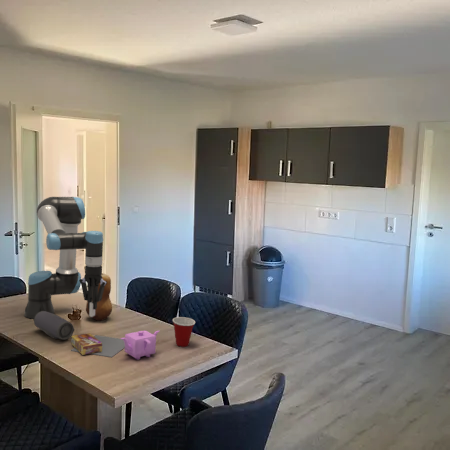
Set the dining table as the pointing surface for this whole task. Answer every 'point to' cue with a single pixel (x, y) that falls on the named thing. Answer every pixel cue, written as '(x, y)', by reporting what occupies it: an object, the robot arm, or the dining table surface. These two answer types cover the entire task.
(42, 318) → the bluetooth speaker
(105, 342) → the mat
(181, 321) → the plastic cup
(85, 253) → the robot arm
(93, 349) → the candy box
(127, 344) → the teapot
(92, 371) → the dining table surface
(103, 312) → the butternut squash
